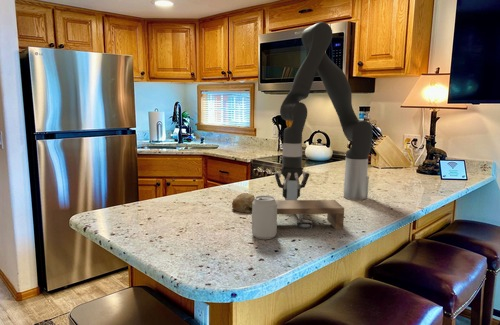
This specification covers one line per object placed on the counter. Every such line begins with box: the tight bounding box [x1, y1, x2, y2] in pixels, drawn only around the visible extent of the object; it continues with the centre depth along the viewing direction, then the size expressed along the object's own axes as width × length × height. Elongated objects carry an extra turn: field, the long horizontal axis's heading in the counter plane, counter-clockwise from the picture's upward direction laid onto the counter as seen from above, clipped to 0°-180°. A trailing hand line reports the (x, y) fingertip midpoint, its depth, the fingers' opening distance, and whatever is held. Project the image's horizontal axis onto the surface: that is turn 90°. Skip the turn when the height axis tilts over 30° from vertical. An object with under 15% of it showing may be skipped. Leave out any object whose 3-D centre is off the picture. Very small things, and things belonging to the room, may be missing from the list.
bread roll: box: [231, 192, 256, 214], centre depth 139 cm, size 10×10×8 cm
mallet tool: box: [284, 180, 304, 220], centre depth 135 cm, size 4×21×10 cm, turn 4°
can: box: [251, 194, 278, 240], centre depth 110 cm, size 8×8×12 cm
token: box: [296, 219, 313, 230], centre depth 120 cm, size 5×5×2 cm
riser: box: [275, 199, 345, 230], centre depth 121 cm, size 24×10×7 cm, turn 94°
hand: (291, 197), depth 144 cm, fingers closed on mallet tool, 4 cm apart
